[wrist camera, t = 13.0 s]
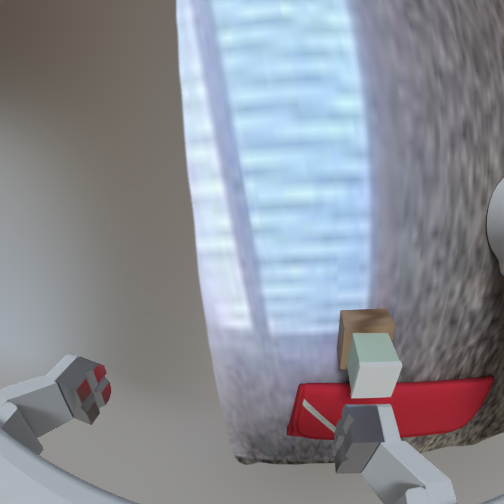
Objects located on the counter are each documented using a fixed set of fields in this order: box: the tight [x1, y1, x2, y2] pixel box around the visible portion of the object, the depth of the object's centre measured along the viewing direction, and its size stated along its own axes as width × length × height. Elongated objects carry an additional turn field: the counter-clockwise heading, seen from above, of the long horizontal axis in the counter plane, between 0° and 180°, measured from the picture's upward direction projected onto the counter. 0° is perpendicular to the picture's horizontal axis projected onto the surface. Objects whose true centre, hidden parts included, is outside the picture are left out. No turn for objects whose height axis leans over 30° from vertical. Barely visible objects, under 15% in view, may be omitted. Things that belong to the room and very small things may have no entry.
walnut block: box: [337, 308, 395, 369], centre depth 39 cm, size 7×7×5 cm
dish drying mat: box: [287, 376, 494, 440], centre depth 45 cm, size 16×41×4 cm, turn 86°
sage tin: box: [346, 333, 402, 398], centre depth 34 cm, size 5×5×7 cm
